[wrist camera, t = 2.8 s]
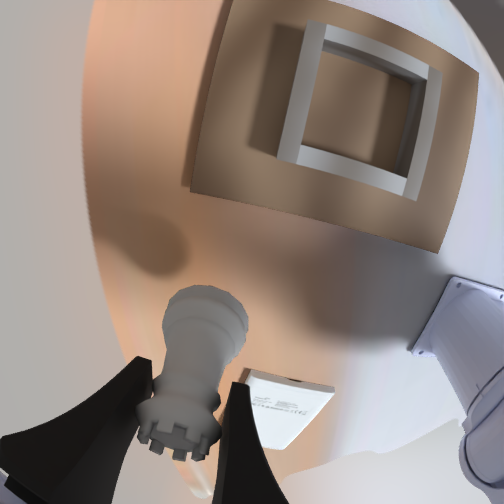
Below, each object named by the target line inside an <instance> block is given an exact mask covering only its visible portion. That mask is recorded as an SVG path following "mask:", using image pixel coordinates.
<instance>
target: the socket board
mask: <svg viewBox="0 0 504 504" xmlns="http://www.w3.org/2000/svg"><path fill="white" fill-rule="evenodd" d="M478 80H479V73H478V72H477V71H475V70H474V69H473V68H471V67H470V66H468V65H467V64H465V63H464V62H462V61H461V60H459V59H458V58H456V57H455V56H453V55H452V54H450V53H448V52H447V51H445V50H444V49H442V48H440V47H438V46H437V45H435V44H433V43H431V42H430V41H428V40H426V39H424V38H422V37H420V36H418V35H416V34H414V33H412V32H410V31H408V30H406V29H404V28H402V27H400V26H398V25H395V24H393V23H391V22H389V21H386V20H384V19H381V18H379V17H376V16H374V15H371V14H369V13H366V12H363V11H360V10H358V9H355V8H352V7H349V6H345V5H342V4H339V3H336V2H332V1H328V0H233V3H232V6H231V9H230V13H229V16H228V19H227V23H226V26H225V30H224V33H223V37H222V40H221V44H220V48H219V52H218V55H217V59H216V63H215V67H214V71H213V75H212V80H211V84H210V88H209V93H208V97H207V102H206V106H205V111H204V116H203V121H202V126H201V131H200V136H199V141H198V147H197V152H196V158H195V164H194V170H193V176H192V182H191V188H190V192H193V193H198V194H203V195H208V196H213V197H218V198H223V199H228V200H233V201H237V202H242V203H247V204H251V205H256V206H260V207H265V208H269V209H274V210H278V211H282V212H287V213H291V214H295V215H299V216H303V217H307V218H312V219H316V220H320V221H324V222H327V223H331V224H335V225H339V226H343V227H347V228H350V229H354V230H358V231H362V232H365V233H369V234H372V235H376V236H380V237H383V238H387V239H390V240H394V241H397V242H400V243H404V244H407V245H411V246H414V247H417V248H420V249H424V250H427V251H430V252H433V253H437V254H438V252H439V250H440V247H441V244H442V242H443V239H444V237H445V234H446V231H447V228H448V225H449V222H450V219H451V216H452V213H453V210H454V207H455V204H456V201H457V197H458V194H459V190H460V187H461V183H462V179H463V175H464V171H465V167H466V163H467V158H468V153H469V149H470V143H471V138H472V132H473V126H474V119H475V112H476V103H477V93H478Z"/></svg>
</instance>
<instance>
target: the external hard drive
mask: <svg viewBox="0 0 504 504" xmlns="http://www.w3.org/2000/svg"><path fill="white" fill-rule="evenodd" d="M244 384H248V385H249V386H250V396H251V404H252V410H253V416H254V420H255V424H256V428H257V432H258V436H259V439H260V442H261V445H262V447H265V448H271V449H278V450H282V449H285V448H286V447H287V446H288V445H289V444H290V443H291V442H292V441H293V439H294V438H295V437H296V436H297V435H298V434H299V433H300V432H301V431H302V430H303V429H304V428H305V427H306V426H307V425H308V424H309V423H310V421H311V420H312V419H313V418H314V417H315V416H316V415H317V414H318V412H319V411H320V410H321V409H322V408H323V407H324V405H325V404H326V403H327V402H328V401H329V399H330V398H331V397H332V396H333V395H334V394H335V388H334V387H331V386H325V385H320V384H314V383H309V382H304V381H301V382H297V381H291V380H289V379H288V378H286V377H281V376H277V375H273V374H269V373H265V372H261V371H257V370H253V369H251V371H250V373H249V375H248V377H247V379H246V381H245V383H244Z"/></svg>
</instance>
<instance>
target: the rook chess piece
mask: <svg viewBox="0 0 504 504" xmlns="http://www.w3.org/2000/svg"><path fill="white" fill-rule="evenodd" d="M162 329H163V334H164V339H165V344H166V348H167V351H166V356H165V361H164V367H163V370H162V373H161V374H160V375H159V376H157V377H156V378H155V379H153V382H152V386H151V388H152V390H153V393H154V396H153V397H152V398H150V399H148V400H145V401H143V402H142V403H140V404H138V405H137V406H136V408H135V413H134V414H135V416H136V419H137V421H138V423H139V426H140V428H139V431H138V435H137V438H138V440H139V441H140V443H142V444H148V441H149V438H150V439H151V440H152V442H151V445H150V448H149V450H150V451H152V452H155V453H157V454H159V455H161V454H162V453H163V450H164V447H167V448H170V449H173V450H174V452H173V457H172V459H173V460H178V461H184V462H185V460H186V456H187V452H192V457H191V459H193V460H194V461H196V462H197V461H201V460H205V455H209V449H210V446H212V445H213V444H215V443H216V442H217V441H218V440H219V439H220V438H221V437H222V428H221V426H220V425H219V423H218V422H217V420H216V419H215V417H214V416H213V412H214V411H216V410H217V409H218V407H219V406H220V404H221V399H220V395H219V394H218V387H219V382H220V380H221V377H222V374H223V372H224V369H225V366H226V365H227V364H229V363H231V361H232V359H233V358H234V357H236V356H237V355H238V354H239V352H240V350H241V348H242V347H243V345H244V343H245V341H246V333H247V331H248V315H247V313H246V311H245V310H244V308H243V306H242V304H241V303H240V302H239V301H238V300H237V299H236V298H234V297H233V296H232V295H231V294H230V293H229V292H226V291H223V290H221V289H218V288H216V287H213V286H202V285H193V286H190V287H188V288H185V289H182V290H179V291H178V292H177V293H176V294H175V295H174V296H173V297H172V298H171V299H170V300H169V304H168V307H167V309H166V311H165V315H164V318H163V321H162Z"/></svg>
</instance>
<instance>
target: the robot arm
mask: <svg viewBox="0 0 504 504" xmlns="http://www.w3.org/2000/svg"><path fill="white" fill-rule="evenodd" d="M458 283H459V284H458ZM457 284H458V285H457ZM411 353H412V355H413V356H422V357H437V359H438V361H439V363H440V364H441V366H442V368H443V370H444V372H445V373H446V375H447V377H448V379H449V381H450V383H451V385H452V387H453V388H454V390H455V392H456V394H457V396H458V398H459V400H460V402H461V404H462V406H463V408H464V411H465V413H466V415H467V418H466V419H465V421H464V422H463V423H462V426H463V428H464V431H465V435H464V436H463V438H462V440H461V442H460V446H459V461H460V466H461V469H462V472H463V474H464V475H465V477H466V478H467V480H468V481H469V482H470V483H471V484H473V485H474V486H475V487H477V488H479V489H481V490H482V491H483V492H484V493H485V494H486V495H487V496H488V498H489V500H490V502H491V503H492V504H504V291H503V290H500V289H496V288H493V287H490V286H486V285H483V284H479V283H476V282H473V281H469V280H466V279H462V278H459V277H452V278H451V279H450V281H449V283H448V285H447V287H446V289H445V291H444V293H443V295H442V297H441V299H440V301H439V303H438V305H437V307H436V309H435V311H434V313H433V314H432V316H431V318H430V320H429V322H428V323H427V325H426V327H425V329H424V330H423V332H422V334H421V335H420V337H419V339H418V340H417V342H416V344H415V345H414V347H413V349H412V350H411ZM152 382H153V378H152V360H149V359H146V358H143V357H140V356H137V357H135V358H134V359H133V360H132V361H131V362H130V363H129V364H128V365H127V366H126V367H125V368H124V369H123V370H122V371H120V373H118V374H117V375H116V376H115V377H114V378H113V379H111V380H110V381H109V382H108V383H107V384H106V385H104V386H103V387H102V388H101V389H100V390H98V391H97V392H96V393H94V394H93V395H92V396H90V397H89V398H88V399H86V400H85V401H83V402H82V403H80V404H79V405H77V406H76V407H74V408H73V409H71V410H69V411H68V412H66V413H64V414H62V415H60V416H58V417H56V418H55V419H53V420H50V421H48V422H46V423H43V424H41V425H38V426H36V427H33V428H31V429H28V430H25V431H21V432H17V433H13V434H10V435H5V436H2V438H1V439H0V468H2V469H3V470H4V471H5V472H6V473H8V474H9V476H8V477H6V476H5V475H4V474H3V473H2V472H0V504H111V503H112V499H113V495H114V491H115V487H116V483H117V480H118V476H119V473H120V470H121V466H122V463H123V460H124V457H125V455H126V452H127V449H128V447H129V445H130V443H131V441H132V439H133V437H134V435H135V433H136V431H137V429H138V427H139V423H138V421H137V419H136V416H135V414H134V413H135V408H136V406H137V405H138V404H140V403H142V402H143V401H145V400H148V399H150V398H151V395H152V392H153V390H152V388H151V386H152ZM221 428H222V437H221V438H220V446H219V458H218V470H217V479H216V485H215V490H214V495H213V500H212V504H289V503H288V501H287V499H286V498H285V496H284V494H283V492H282V491H281V489H280V487H279V485H278V483H277V481H276V479H275V477H274V475H273V473H272V471H271V469H270V467H269V464H268V462H267V459H266V457H265V454H264V451H263V448H262V445H261V442H260V439H259V436H258V432H257V428H256V424H255V420H254V416H253V410H252V404H251V396H250V386H249V385H248V384H242V383H237V382H232V385H231V389H230V393H229V397H228V400H227V404H226V408H225V412H224V417H223V422H222V427H221Z"/></svg>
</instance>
